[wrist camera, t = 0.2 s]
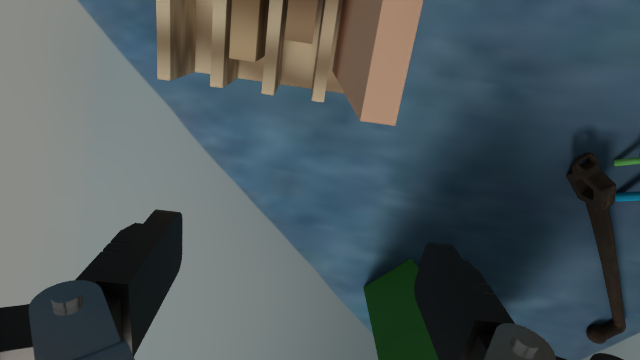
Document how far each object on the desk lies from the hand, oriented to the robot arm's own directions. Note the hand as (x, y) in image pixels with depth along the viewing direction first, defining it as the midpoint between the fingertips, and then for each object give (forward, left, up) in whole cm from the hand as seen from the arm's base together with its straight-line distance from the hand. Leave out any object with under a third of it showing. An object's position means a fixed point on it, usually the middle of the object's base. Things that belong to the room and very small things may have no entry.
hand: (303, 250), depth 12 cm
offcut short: (-8, -6, -28) cm, 30 cm away
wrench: (+14, +38, -30) cm, 50 cm away
